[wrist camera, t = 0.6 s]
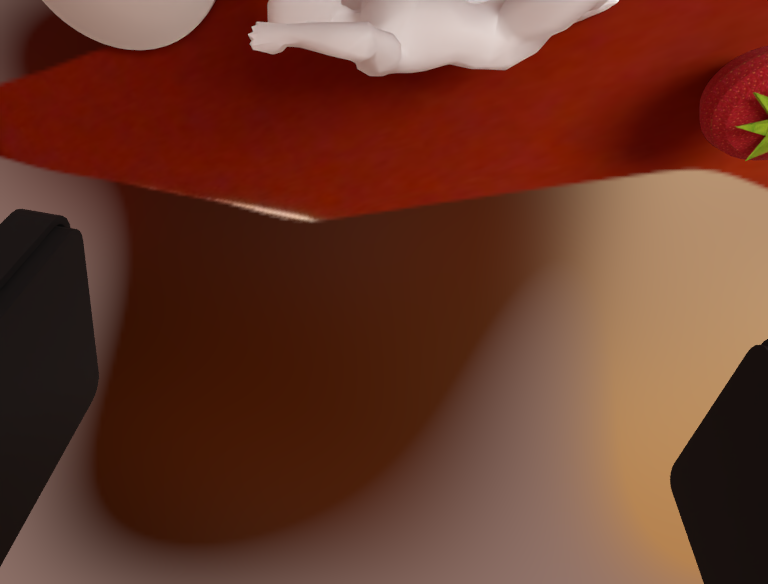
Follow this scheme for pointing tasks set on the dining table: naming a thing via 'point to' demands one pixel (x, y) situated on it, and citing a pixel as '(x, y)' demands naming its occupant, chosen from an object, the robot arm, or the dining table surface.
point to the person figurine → (419, 30)
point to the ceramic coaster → (132, 20)
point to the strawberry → (738, 107)
